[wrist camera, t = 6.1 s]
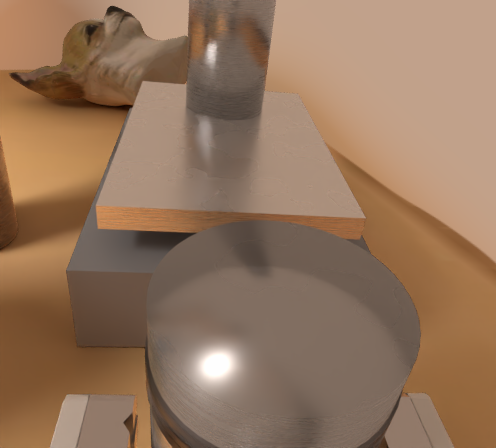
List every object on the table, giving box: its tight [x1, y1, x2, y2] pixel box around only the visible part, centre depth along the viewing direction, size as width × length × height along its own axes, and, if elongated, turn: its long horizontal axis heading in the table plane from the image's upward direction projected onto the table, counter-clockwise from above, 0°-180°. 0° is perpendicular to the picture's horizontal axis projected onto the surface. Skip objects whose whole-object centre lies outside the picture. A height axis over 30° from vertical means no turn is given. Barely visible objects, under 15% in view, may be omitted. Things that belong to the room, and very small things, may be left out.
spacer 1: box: [186, 0, 276, 120], centre depth 23 cm, size 4×4×10 cm
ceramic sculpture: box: [9, 6, 188, 106], centre depth 40 cm, size 11×9×15 cm
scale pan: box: [96, 81, 366, 240], centre depth 23 cm, size 10×15×1 cm, turn 5°
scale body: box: [66, 108, 371, 347], centre depth 25 cm, size 12×17×4 cm
